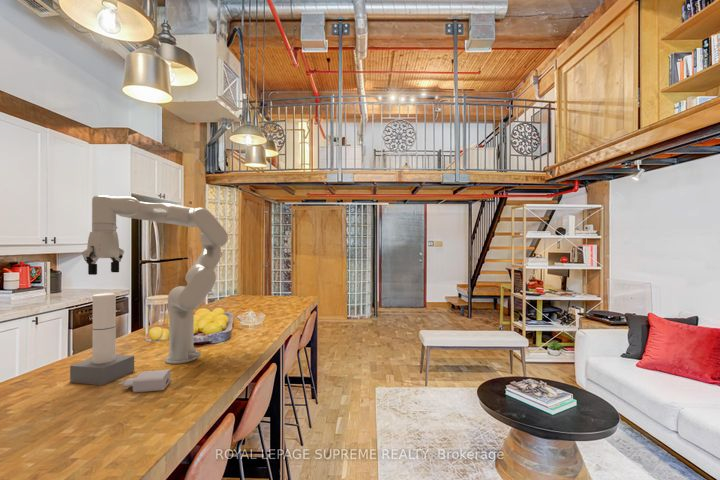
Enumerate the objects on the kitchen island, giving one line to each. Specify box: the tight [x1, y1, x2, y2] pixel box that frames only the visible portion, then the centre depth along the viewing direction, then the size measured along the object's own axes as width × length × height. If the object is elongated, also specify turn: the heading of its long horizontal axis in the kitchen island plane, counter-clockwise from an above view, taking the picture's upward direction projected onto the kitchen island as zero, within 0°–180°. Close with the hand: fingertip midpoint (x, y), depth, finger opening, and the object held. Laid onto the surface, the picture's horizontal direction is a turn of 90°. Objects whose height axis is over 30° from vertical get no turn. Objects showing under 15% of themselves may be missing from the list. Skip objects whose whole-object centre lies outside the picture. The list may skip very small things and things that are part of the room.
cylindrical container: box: [92, 292, 117, 364], centre depth 137 cm, size 7×7×25 cm
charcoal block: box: [69, 354, 135, 386], centre depth 137 cm, size 14×14×6 cm
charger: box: [118, 369, 172, 393], centre depth 127 cm, size 5×9×15 cm
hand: (104, 273), depth 137 cm, fingers open, 9 cm apart
